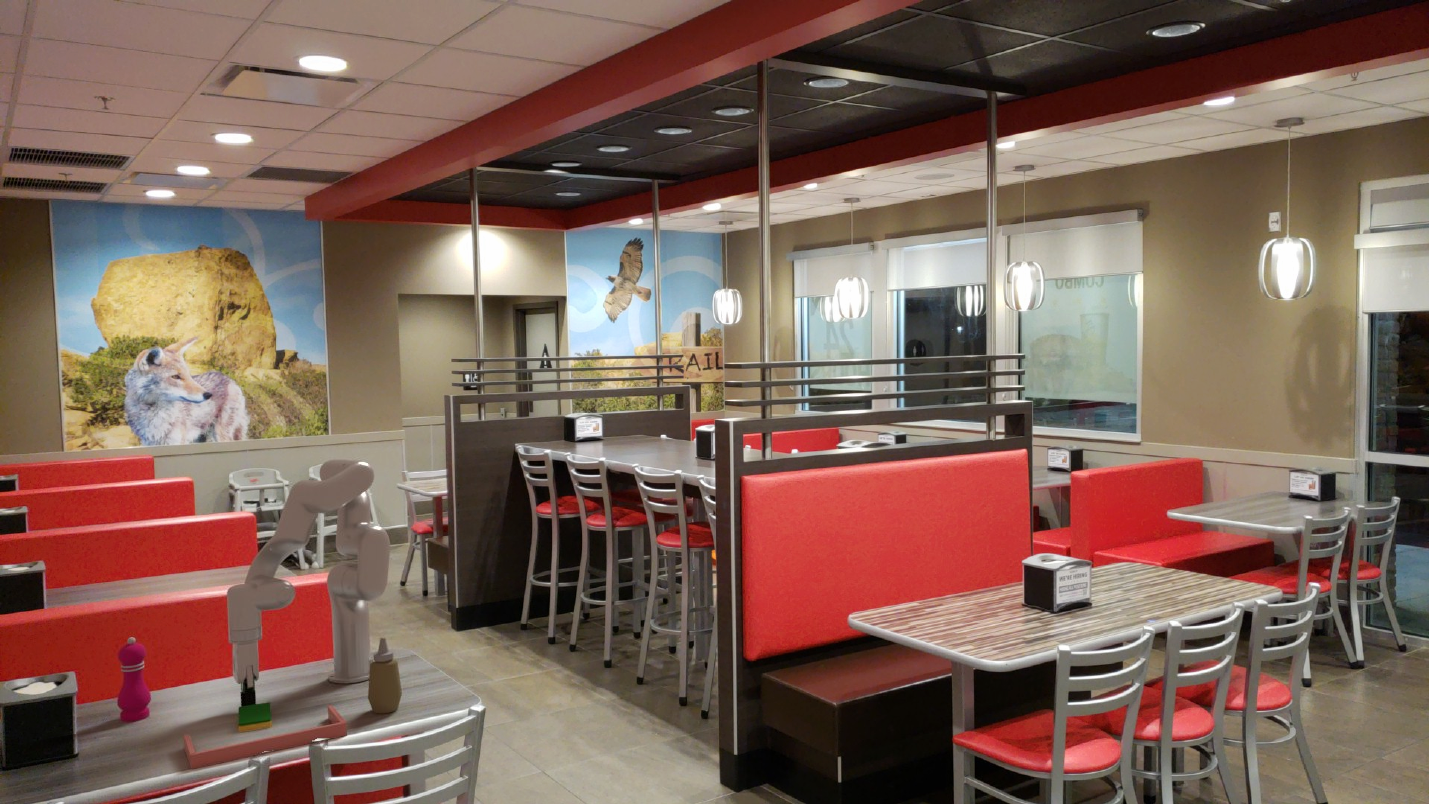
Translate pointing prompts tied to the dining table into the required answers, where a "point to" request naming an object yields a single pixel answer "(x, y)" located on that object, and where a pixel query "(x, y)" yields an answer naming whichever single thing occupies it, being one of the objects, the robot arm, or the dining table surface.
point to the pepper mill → (133, 683)
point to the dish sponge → (254, 717)
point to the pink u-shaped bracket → (265, 743)
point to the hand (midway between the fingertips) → (248, 706)
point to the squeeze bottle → (384, 681)
